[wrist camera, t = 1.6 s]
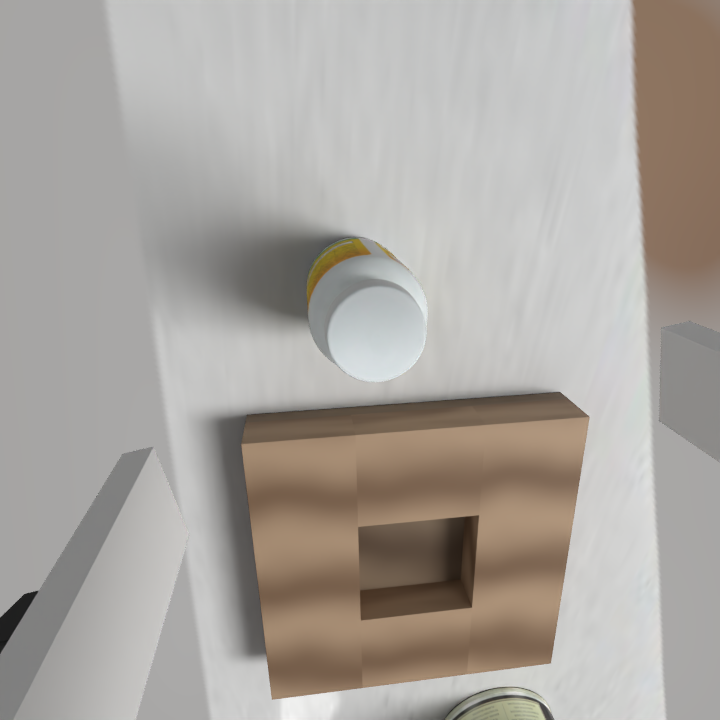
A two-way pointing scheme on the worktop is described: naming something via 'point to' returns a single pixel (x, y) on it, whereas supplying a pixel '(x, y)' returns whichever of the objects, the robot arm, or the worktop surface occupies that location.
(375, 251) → the supplement bottle
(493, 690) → the coffee can
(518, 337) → the worktop surface
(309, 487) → the socket block
